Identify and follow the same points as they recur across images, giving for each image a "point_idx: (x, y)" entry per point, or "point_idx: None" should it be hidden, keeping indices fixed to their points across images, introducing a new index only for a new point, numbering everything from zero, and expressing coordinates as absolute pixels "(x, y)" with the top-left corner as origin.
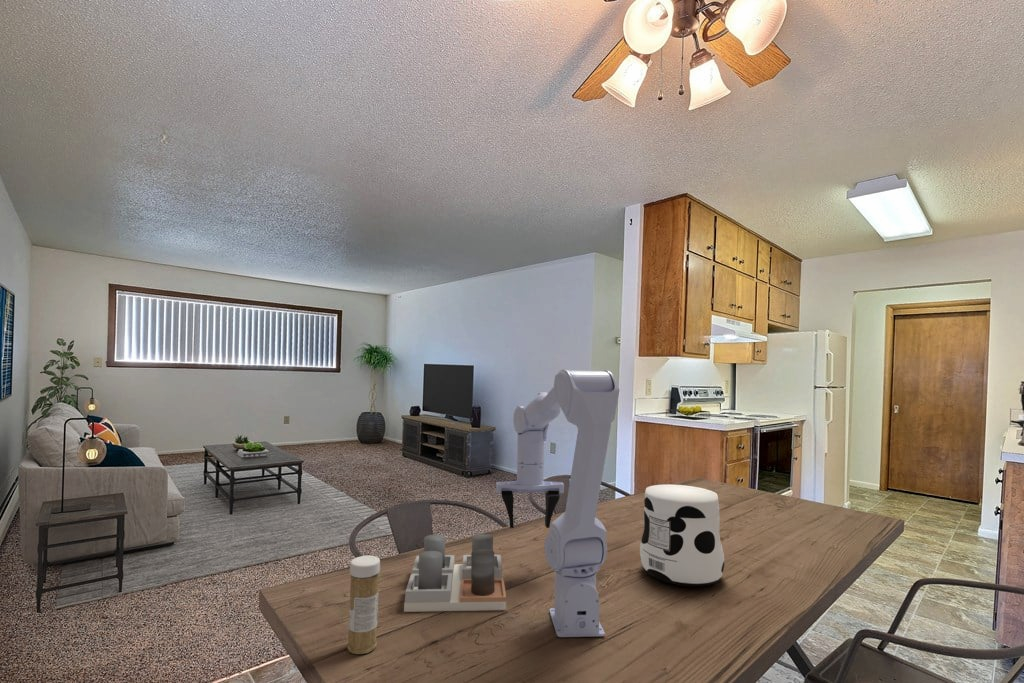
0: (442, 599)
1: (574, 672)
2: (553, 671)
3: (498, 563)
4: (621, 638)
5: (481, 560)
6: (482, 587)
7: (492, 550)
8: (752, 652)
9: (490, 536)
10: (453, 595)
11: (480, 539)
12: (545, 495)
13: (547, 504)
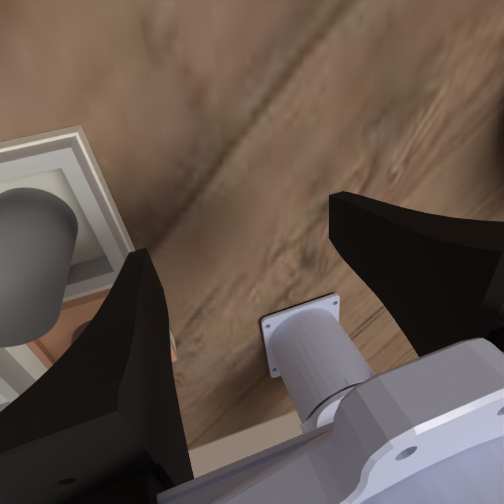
0: None
1: (284, 413)
2: (261, 420)
3: (101, 240)
4: (355, 343)
5: None
6: None
7: (67, 269)
8: None
9: (32, 285)
10: (37, 372)
11: (2, 333)
12: (471, 254)
13: (412, 318)
